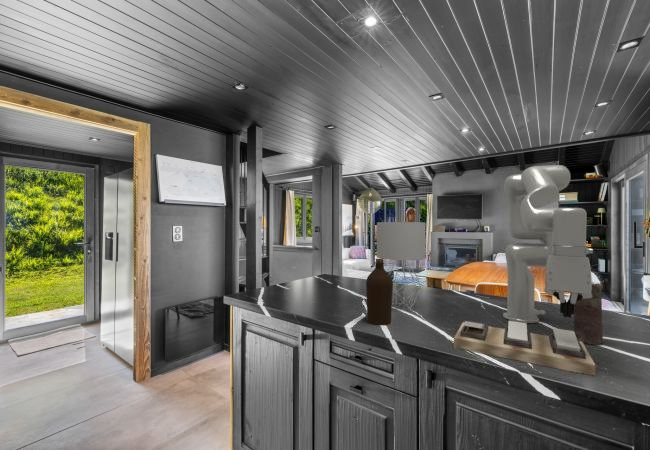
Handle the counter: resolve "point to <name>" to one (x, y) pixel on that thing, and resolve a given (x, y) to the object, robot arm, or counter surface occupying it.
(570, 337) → the rocker right
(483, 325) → the rocker left
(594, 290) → the candle
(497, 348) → the switch panel
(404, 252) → the table lamp
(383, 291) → the olive oil
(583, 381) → the counter surface
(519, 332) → the rocker middle
